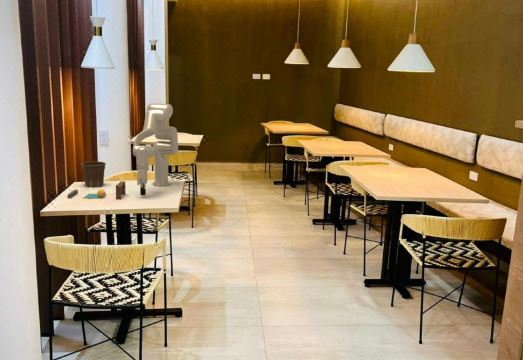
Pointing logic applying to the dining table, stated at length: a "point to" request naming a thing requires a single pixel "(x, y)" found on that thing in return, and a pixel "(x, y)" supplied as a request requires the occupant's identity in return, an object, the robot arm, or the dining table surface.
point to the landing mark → (94, 196)
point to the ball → (101, 193)
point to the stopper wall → (73, 193)
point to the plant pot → (93, 173)
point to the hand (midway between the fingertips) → (143, 195)
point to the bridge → (120, 189)
